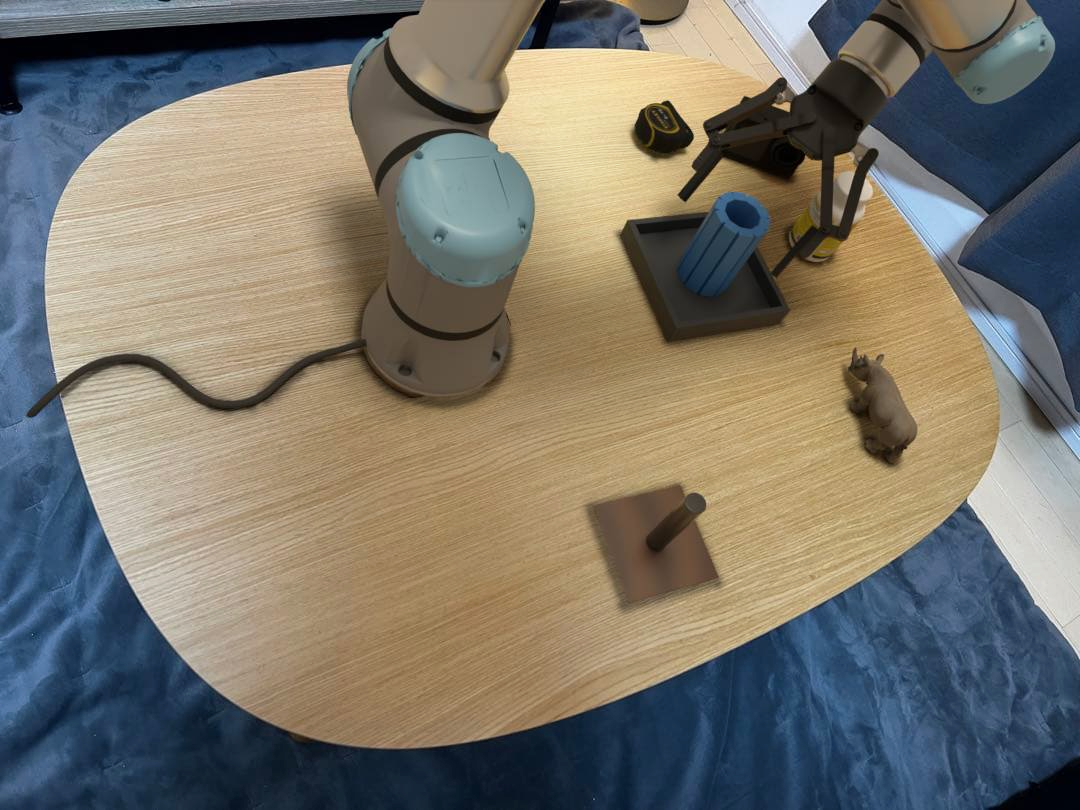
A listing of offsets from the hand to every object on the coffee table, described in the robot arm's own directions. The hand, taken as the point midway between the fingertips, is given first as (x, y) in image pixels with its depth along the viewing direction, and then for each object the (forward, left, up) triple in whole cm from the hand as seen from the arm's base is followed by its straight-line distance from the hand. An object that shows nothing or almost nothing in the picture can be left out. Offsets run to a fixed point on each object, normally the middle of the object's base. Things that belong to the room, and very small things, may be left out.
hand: (726, 236), depth 95 cm
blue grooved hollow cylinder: (0, 0, -7) cm, 7 cm away
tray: (0, 0, -8) cm, 8 cm away
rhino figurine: (+13, -21, -8) cm, 26 cm away
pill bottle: (+18, +3, -8) cm, 20 cm away
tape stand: (-19, -30, -8) cm, 36 cm away
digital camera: (+17, +18, -8) cm, 26 cm away
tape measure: (+4, +23, -8) cm, 25 cm away
